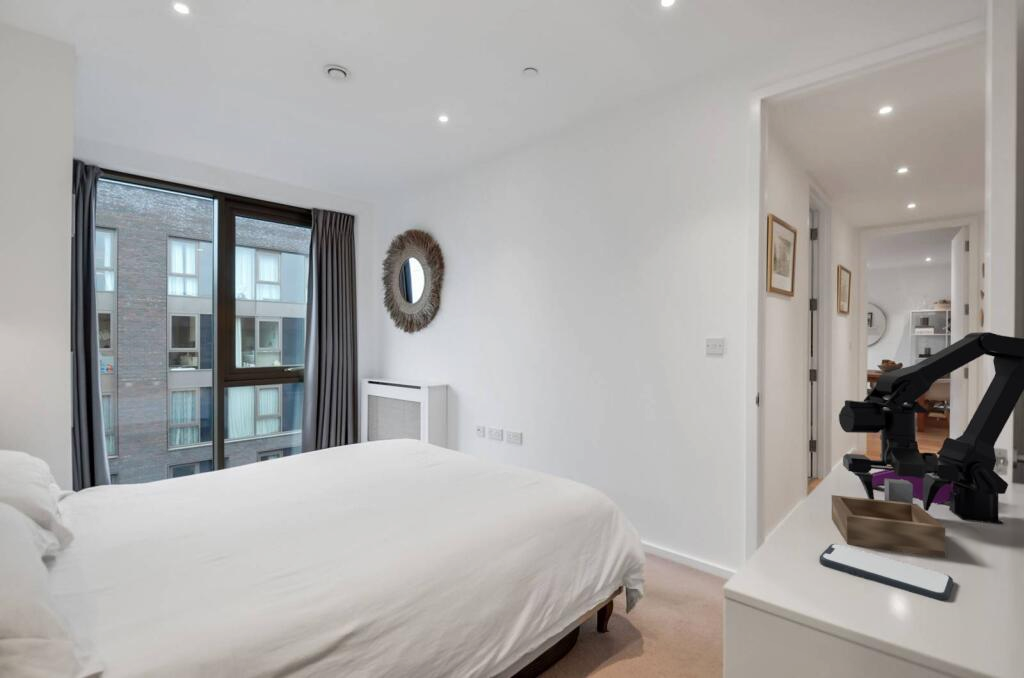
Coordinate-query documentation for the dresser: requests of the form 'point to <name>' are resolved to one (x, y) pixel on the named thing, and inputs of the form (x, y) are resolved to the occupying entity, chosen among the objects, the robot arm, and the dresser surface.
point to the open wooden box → (888, 525)
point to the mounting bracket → (917, 485)
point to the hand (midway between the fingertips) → (898, 507)
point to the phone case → (887, 571)
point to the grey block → (898, 490)
